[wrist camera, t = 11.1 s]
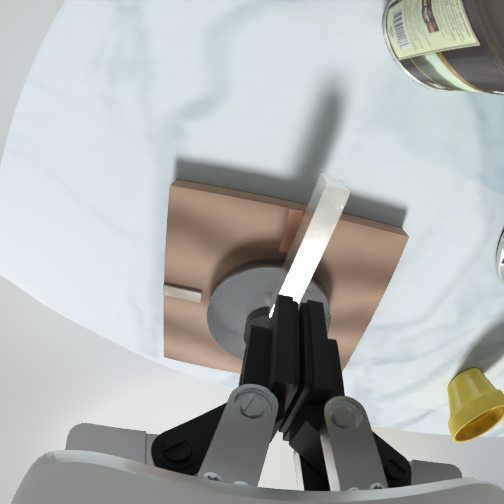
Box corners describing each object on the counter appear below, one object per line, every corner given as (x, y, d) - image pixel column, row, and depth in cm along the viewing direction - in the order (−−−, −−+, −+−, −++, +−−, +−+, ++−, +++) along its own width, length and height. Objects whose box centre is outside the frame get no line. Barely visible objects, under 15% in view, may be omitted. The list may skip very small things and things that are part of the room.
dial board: (176, 179, 27) (168, 186, 25) (401, 228, 28) (410, 238, 26) (168, 346, 38) (163, 358, 36) (331, 375, 38) (333, 388, 36)
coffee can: (490, 70, 19) (594, 82, 6) (420, 107, 22) (524, 132, 10) (438, -21, 15) (526, -62, 3) (358, 9, 19) (427, -53, 6)
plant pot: (433, 379, 39) (451, 430, 30) (488, 349, 35) (512, 395, 27) (440, 406, 42) (453, 449, 34) (488, 380, 39) (506, 421, 31)
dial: (300, 361, 34) (302, 391, 30) (200, 334, 33) (191, 364, 30) (391, 197, 24) (410, 217, 20) (257, 147, 23) (253, 157, 20)
